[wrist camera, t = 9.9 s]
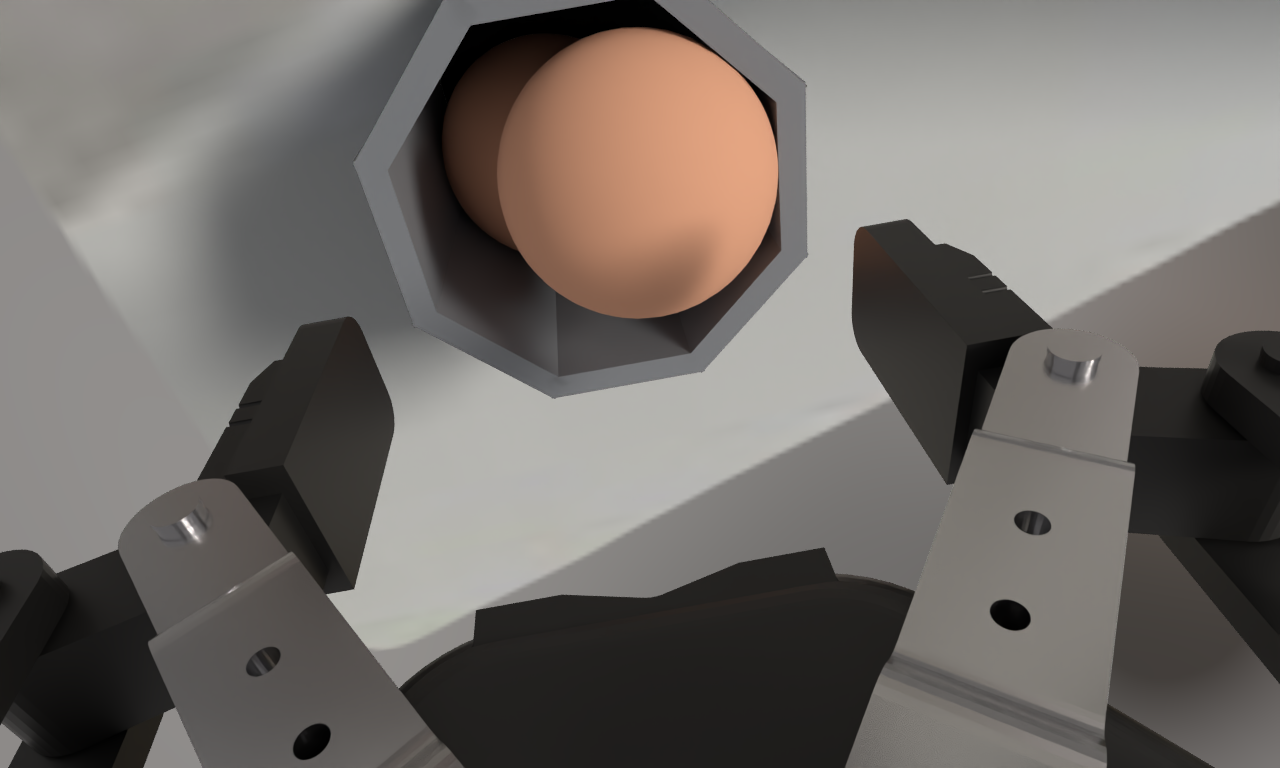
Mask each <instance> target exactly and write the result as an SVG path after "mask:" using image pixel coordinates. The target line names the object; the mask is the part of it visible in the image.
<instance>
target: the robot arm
mask: <svg viewBox="0 0 1280 768" xmlns="http://www.w3.org/2000/svg"><path fill="white" fill-rule="evenodd" d="M852 324H853V330H854V335H855V338H856V342H857V345H858V347H859V349H860V351H861V353H862V354H863V356H864V357H865V359H866V360H867V362H868V363H869V365H870V367H871V368H872V370H873V371H874V373H875V374H876V376H877V377H878V379H879V380H880V382H881V384H882V385H883V387H884V388H885V390H886V391H887V393H888V394H889V396H890V397H891V399H892V400H893V402H894V404H895V405H896V407H897V408H898V410H899V411H900V413H901V414H902V416H903V417H904V419H905V421H906V422H907V424H908V425H909V427H910V428H911V430H912V431H913V433H914V435H915V436H916V438H917V439H918V441H919V442H920V444H921V445H922V447H923V449H924V450H925V451H926V453H927V455H928V456H929V458H930V459H931V461H932V462H933V464H934V466H935V467H936V468H937V470H938V472H939V473H940V475H941V476H942V478H943V479H944V481H945V483H946V484H947V485H948V484H954V486H953V488H952V491H951V494H950V497H949V500H948V502H947V505H946V508H945V511H944V513H943V516H942V519H941V522H940V525H939V527H938V530H937V533H936V536H935V538H934V541H933V544H932V547H931V550H930V552H929V555H928V558H927V561H926V563H925V566H924V569H923V572H922V575H921V577H920V580H919V583H918V585H917V588H916V591H913V590H910V589H907V588H905V587H902V586H898V585H896V584H893V583H890V582H885V581H882V580H877V579H873V578H868V577H862V576H854V575H848V574H835V573H834V570H833V568H832V565H831V563H830V560H829V558H828V556H827V553H826V551H825V548H819V549H813V550H808V551H802V552H796V553H791V554H785V555H780V556H774V557H769V558H763V559H758V560H752V561H747V562H741V563H738V564H735V565H733V566H730V567H728V568H726V569H723V570H721V571H718V572H716V573H713V574H711V575H709V576H706V577H704V578H701V579H699V580H696V581H694V582H692V583H689V584H687V585H684V586H682V587H680V588H677V589H675V590H672V591H670V592H667V593H665V594H663V595H660V596H657V597H652V598H633V597H606V596H605V597H604V596H579V595H558V596H552V597H547V598H542V599H536V600H531V601H525V602H519V603H513V604H508V605H503V606H497V607H491V608H486V609H480V610H476V617H475V630H474V639H473V640H471V641H468V642H466V643H464V644H462V645H460V646H458V647H456V648H454V649H453V650H451V651H449V652H447V653H445V654H443V655H442V656H440V657H439V658H437V659H436V660H434V661H433V662H431V663H430V664H428V665H427V666H425V667H424V668H422V669H421V670H420V671H419V672H417V673H416V674H415V675H414V676H412V677H411V678H410V679H409V680H408V681H406V682H405V683H404V684H403V685H402V686H401V687H400V688H398V687H397V686H396V685H395V683H394V682H393V681H392V679H391V678H390V677H389V676H388V675H387V673H386V672H385V670H384V669H383V668H382V666H381V665H380V664H379V663H378V662H377V660H376V659H375V657H374V656H373V655H372V654H371V652H370V651H369V650H368V648H367V647H366V646H365V644H364V643H363V642H362V641H361V639H360V638H359V637H358V635H357V634H356V633H355V632H354V630H353V629H352V628H351V626H350V625H349V624H348V622H347V621H346V620H345V619H344V617H343V616H342V615H341V613H340V612H339V611H338V610H337V608H336V607H335V606H334V604H333V603H332V602H331V600H330V599H329V598H328V597H327V595H326V594H330V593H336V592H341V591H347V590H352V589H354V587H355V583H356V579H357V576H358V572H359V568H360V564H361V560H362V556H363V552H364V548H365V544H366V540H367V536H368V532H369V528H370V524H371V520H372V516H373V512H374V508H375V504H376V501H377V497H378V493H379V489H380V485H381V481H382V477H383V473H384V469H385V465H386V461H387V457H388V453H389V449H390V445H391V441H392V437H393V433H394V413H393V407H392V403H391V399H390V396H389V394H388V391H387V389H386V386H385V384H384V382H383V379H382V377H381V375H380V372H379V370H378V368H377V365H376V363H375V360H374V358H373V356H372V353H371V351H370V349H369V346H368V344H367V342H366V339H365V337H364V335H363V332H362V330H361V328H360V326H359V324H358V323H357V322H356V320H355V319H354V318H352V317H344V318H338V319H333V320H327V321H321V322H316V323H310V324H304V325H302V326H300V328H299V329H298V331H297V333H296V335H295V337H294V339H293V341H292V343H291V345H290V347H289V349H288V351H287V353H286V355H285V357H284V358H283V360H278V361H274V362H273V363H272V364H271V365H270V366H268V367H267V368H266V369H265V370H264V371H263V372H262V373H261V374H260V375H259V376H257V377H256V378H255V379H254V380H253V381H252V382H251V383H250V385H249V387H248V389H247V390H246V392H245V394H244V396H243V398H242V399H241V401H240V403H239V409H236V410H235V412H234V414H233V416H232V418H231V420H230V421H229V425H230V427H226V429H225V430H224V432H223V434H222V436H221V438H220V440H219V441H218V443H217V445H216V447H215V449H214V450H213V452H212V454H211V456H210V458H209V460H208V461H207V463H206V465H205V467H204V469H203V471H202V472H201V474H200V476H199V478H198V480H197V481H194V482H191V483H188V484H185V485H182V486H180V487H177V488H175V489H173V490H171V491H169V492H167V493H165V494H163V495H161V496H160V497H158V498H156V499H155V500H153V501H152V502H150V503H149V504H148V505H146V506H145V507H144V508H143V509H141V510H140V511H139V512H138V513H137V514H136V515H135V516H134V517H133V518H132V519H131V520H130V522H129V523H128V524H127V525H126V527H125V528H124V530H123V532H122V533H121V536H120V539H119V542H118V550H116V551H113V552H110V553H108V554H105V555H103V556H100V557H98V558H95V559H93V560H90V561H88V562H85V563H82V564H80V565H77V566H75V567H72V568H70V569H67V570H64V571H62V572H59V573H57V574H56V573H55V572H54V571H53V570H52V569H51V567H49V565H48V564H47V563H46V562H45V561H44V560H43V559H42V558H41V557H40V556H39V555H38V554H37V553H35V552H33V551H29V550H12V551H6V552H2V553H0V725H1V723H2V724H3V725H5V726H6V727H7V728H8V729H9V730H11V731H12V732H13V733H14V734H16V735H17V736H18V737H19V738H20V739H22V740H23V741H22V743H21V745H20V747H19V749H18V750H17V752H16V754H15V756H14V758H13V760H12V762H11V764H10V765H9V767H8V768H143V767H144V764H145V762H146V759H147V756H148V754H149V751H150V748H151V746H152V743H153V740H154V738H155V735H156V733H157V730H158V727H159V725H160V722H161V719H162V717H163V713H164V712H166V711H168V710H170V709H173V708H175V707H176V709H177V712H178V714H179V716H180V718H181V721H182V723H183V725H184V727H185V729H186V731H187V734H188V736H189V738H190V740H191V743H192V745H193V747H194V750H195V752H196V754H197V756H198V759H199V761H200V763H201V765H202V767H203V768H1214V767H1213V766H1211V765H1209V764H1208V763H1206V762H1204V761H1203V760H1201V759H1199V758H1198V757H1196V756H1194V755H1193V754H1191V753H1189V752H1188V751H1186V750H1184V749H1183V748H1181V747H1179V746H1178V745H1176V744H1174V743H1173V742H1171V741H1169V740H1167V739H1166V738H1164V737H1162V736H1161V735H1159V734H1157V733H1156V732H1154V731H1153V730H1150V729H1149V728H1148V727H1146V726H1144V725H1142V724H1141V723H1139V722H1137V721H1136V720H1134V719H1132V718H1131V717H1129V716H1127V715H1126V714H1124V713H1122V712H1121V711H1119V710H1117V709H1116V708H1114V707H1112V706H1111V705H1109V704H1107V701H1108V692H1109V685H1110V676H1111V668H1112V660H1113V651H1114V643H1115V635H1116V626H1117V618H1118V610H1119V602H1120V592H1121V585H1122V577H1123V567H1124V560H1125V551H1126V544H1127V535H1128V533H1141V534H1153V535H1159V536H1160V538H1161V539H1162V540H1163V541H1164V543H1165V544H1166V545H1167V546H1168V548H1169V549H1170V550H1171V551H1172V553H1173V554H1174V555H1175V556H1176V557H1177V559H1178V560H1179V561H1180V562H1181V563H1182V565H1183V566H1184V567H1185V568H1186V570H1187V571H1188V572H1189V573H1190V574H1191V576H1192V577H1193V578H1194V579H1195V581H1196V582H1197V583H1198V584H1199V586H1200V587H1201V588H1202V589H1203V591H1204V592H1205V593H1206V594H1207V595H1208V597H1209V598H1210V599H1211V600H1212V601H1213V603H1214V604H1215V605H1216V606H1217V608H1218V609H1219V610H1220V611H1221V613H1222V614H1223V615H1224V616H1225V617H1226V619H1227V620H1228V621H1229V622H1230V624H1231V625H1232V626H1233V627H1234V628H1235V630H1236V631H1237V632H1238V633H1239V635H1240V636H1241V637H1242V638H1243V639H1244V641H1245V642H1246V643H1247V644H1248V645H1249V647H1250V648H1251V649H1252V650H1253V652H1254V653H1255V654H1256V655H1257V657H1258V658H1259V659H1260V660H1261V662H1262V663H1263V664H1264V665H1265V666H1266V667H1267V669H1268V670H1269V671H1270V673H1271V674H1272V675H1273V676H1274V677H1275V678H1276V680H1277V681H1278V682H1279V683H1280V332H1278V331H1251V332H1243V333H1238V334H1234V335H1232V336H1229V337H1227V338H1225V339H1223V340H1222V341H1221V342H1220V343H1219V344H1218V345H1217V346H1216V348H1215V351H1214V353H1213V356H1212V359H1211V361H1210V364H1209V367H1208V369H1199V368H1155V367H1139V365H1138V362H1137V360H1136V358H1135V357H1134V355H1133V354H1132V353H1131V352H1130V351H1129V350H1128V349H1127V348H1125V347H1124V346H1122V345H1121V344H1119V343H1117V342H1115V341H1113V340H1111V339H1109V338H1106V337H1104V336H1101V335H1098V334H1094V333H1091V332H1086V331H1081V330H1073V329H1053V328H1052V327H1051V326H1050V325H1048V324H1047V323H1046V322H1045V321H1044V320H1043V319H1042V318H1041V317H1040V316H1039V315H1038V314H1037V313H1035V312H1034V311H1033V310H1032V309H1031V308H1030V307H1029V306H1028V305H1027V304H1026V303H1025V302H1024V301H1022V300H1021V299H1020V298H1019V297H1018V296H1017V295H1016V294H1015V293H1014V292H1013V291H1012V290H1011V289H1010V290H1007V286H1006V285H1005V284H1004V283H1003V282H1002V281H1001V280H1000V279H999V278H998V277H996V276H992V272H991V271H990V270H989V269H988V268H987V267H986V266H985V265H983V264H982V263H981V262H980V261H979V260H978V259H977V258H976V257H975V256H974V255H971V254H969V253H967V252H964V251H962V250H959V249H957V248H955V247H952V246H950V245H948V244H945V243H944V244H939V245H935V244H934V243H933V242H932V241H931V240H930V239H929V238H928V237H927V236H926V235H925V234H923V233H922V232H921V231H920V230H919V229H918V228H917V227H916V226H915V225H914V224H913V223H912V222H911V221H910V220H908V219H904V220H898V221H893V222H887V223H881V224H876V225H870V226H864V227H860V228H859V229H858V230H857V232H856V235H855V241H854V262H853V292H852Z"/></svg>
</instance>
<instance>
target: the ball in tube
mask: <svg viewBox="0 0 1280 768" xmlns="http://www.w3.org/2000/svg"><path fill="white" fill-rule="evenodd" d="M579 40H580V39H579V38H575V37H571V36H568V35H561V34H554V33H535V34H529V35H523V36H519V37H516V38H513V39H510V40H508V41H505V42H503V43H501V44H499V45H497V46H495V47H493V48H491V49H490V50H489V51H487V52H486V53H485V54H483V55H482V56H481V57H479V58H478V59H477V60H476V61H475V62H474V63H473V64H472V65H471V66H470V67H469V68H468V69H467V70H466V72H465V73H464V75H463V76H462V77H461V79H460V80H459V82H458V83H457V85H456V86H455V89H454V91H453V93H452V95H451V97H450V100H449V102H448V105H447V108H446V112H445V116H444V122H443V130H442V153H443V160H444V166H445V170H446V174H447V178H448V180H449V183H450V185H451V188H452V190H453V192H454V194H455V196H456V198H457V200H458V201H459V203H460V205H461V206H462V208H463V209H464V211H465V212H466V213H467V215H468V216H469V217H470V218H471V219H472V220H473V222H474V223H475V224H476V225H478V226H479V227H480V228H481V229H482V230H483V231H484V232H485V233H487V234H488V235H489V236H491V237H492V238H494V239H495V240H497V241H498V242H500V243H502V244H504V245H506V246H508V247H510V248H512V249H515V250H517V251H519V250H518V248H517V246H516V244H515V243H514V241H513V239H512V237H511V234H510V232H509V230H508V227H507V225H506V221H505V218H504V215H503V212H502V208H501V204H500V199H499V192H498V183H497V161H498V154H499V147H500V141H501V136H502V133H503V129H504V126H505V123H506V121H507V118H508V115H509V113H510V111H511V108H512V106H513V104H514V102H515V101H516V99H517V97H518V96H519V94H520V92H521V91H522V89H523V88H524V86H525V85H526V83H527V82H528V81H529V80H530V78H531V77H532V76H533V75H534V74H535V73H536V72H537V70H538V69H539V68H540V67H541V66H542V65H543V64H545V63H546V62H547V61H548V60H549V59H550V58H552V57H553V56H554V55H555V54H557V53H558V52H559V51H561V50H563V49H564V48H566V47H568V46H570V45H571V44H573V43H575V42H577V41H579Z"/></svg>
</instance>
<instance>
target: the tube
mask: <svg viewBox="0 0 1280 768" xmlns="http://www.w3.org/2000/svg"><path fill="white" fill-rule="evenodd" d="M607 1H613V0H443V1H442V3H441V5H440V7H439V9H438V10H437V12H436V14H435V16H434V18H433V20H432V21H431V23H430V25H429V27H428V29H427V31H426V32H425V34H424V36H423V38H422V40H421V42H420V43H419V45H418V47H417V49H416V51H415V53H414V54H413V56H412V58H411V60H410V62H409V64H408V65H407V67H406V69H405V71H404V73H403V75H402V76H401V78H400V80H399V82H398V84H397V86H396V87H395V89H394V91H393V93H392V95H391V97H390V98H389V100H388V102H387V104H386V106H385V108H384V109H383V111H382V113H381V115H380V117H379V119H378V120H377V122H376V124H375V126H374V128H373V130H372V131H371V133H370V135H369V137H368V139H367V141H366V142H365V144H364V145H363V147H362V149H361V150H360V152H359V153H358V155H357V156H356V158H355V160H354V161H353V163H354V165H353V166H354V167H355V169H356V171H357V174H358V177H359V179H360V182H361V185H362V188H363V190H364V193H365V196H366V198H367V201H368V204H369V206H370V209H371V212H372V214H373V217H374V220H375V223H376V225H377V228H378V231H379V233H380V236H381V239H382V241H383V244H384V247H385V250H386V252H387V255H388V258H389V260H390V263H391V266H392V268H393V271H394V274H395V277H396V279H397V282H398V285H399V287H400V290H401V293H402V295H403V298H404V301H405V304H406V306H407V309H408V312H409V314H410V317H411V320H412V322H413V323H412V325H413V326H414V327H417V328H419V329H421V330H423V331H425V332H427V333H429V334H430V335H432V336H434V337H436V338H438V339H440V340H442V341H444V342H446V343H448V344H450V345H452V346H454V347H456V348H458V349H459V350H461V351H463V352H465V353H467V354H469V355H471V356H473V357H475V358H477V359H479V360H481V361H483V362H485V363H487V364H488V365H490V366H492V367H494V368H496V369H498V370H500V371H502V372H504V373H506V374H508V375H510V376H512V377H514V378H515V379H517V380H519V381H521V382H523V383H525V384H527V385H529V386H531V387H533V388H535V389H537V390H539V391H541V392H543V393H544V394H546V395H548V396H550V397H552V398H554V399H555V398H557V397H563V396H569V395H574V394H580V393H585V392H591V391H596V390H602V389H608V388H613V387H619V386H624V385H630V384H636V383H641V382H647V381H652V380H658V379H663V378H669V377H675V376H680V375H686V374H691V373H697V372H703V371H705V369H706V368H707V366H708V365H709V364H710V363H711V362H712V361H713V360H714V359H715V358H716V356H717V355H718V354H719V353H720V352H721V351H722V350H723V349H724V348H725V346H726V345H727V344H728V343H729V342H730V341H731V340H732V339H733V338H734V336H735V335H736V334H737V333H738V332H739V331H740V330H741V329H742V328H743V326H744V325H745V324H746V323H747V322H748V321H749V320H750V319H751V318H752V317H753V315H754V314H755V313H756V312H757V311H758V310H759V309H760V308H761V307H762V305H763V304H764V303H765V302H766V301H767V300H768V299H769V298H770V297H771V295H772V294H773V293H774V292H775V291H776V290H777V289H778V288H779V287H780V285H781V284H782V283H783V282H784V281H785V280H786V279H787V278H788V277H789V275H790V274H791V273H792V272H793V271H794V270H795V269H796V268H797V267H798V265H799V264H800V263H801V262H802V261H803V260H804V259H805V258H807V256H808V253H807V184H806V92H805V88H806V86H807V85H806V84H805V81H803V80H802V79H801V78H800V77H798V76H797V75H796V74H795V73H794V72H792V71H791V70H790V69H789V68H787V67H786V66H785V65H784V64H783V63H781V62H780V61H779V60H778V59H776V58H775V57H774V56H773V55H771V54H770V53H769V52H768V51H767V50H765V49H764V48H763V47H762V46H761V45H759V44H758V43H757V42H756V41H755V40H754V39H753V38H751V37H750V36H749V35H748V34H747V33H746V32H745V31H743V30H742V29H741V28H740V27H739V26H738V25H736V24H735V23H734V22H733V21H732V20H731V19H730V18H728V17H727V16H726V15H725V14H724V13H723V12H722V11H720V10H719V9H718V8H717V7H716V6H715V5H713V4H712V3H711V2H710V1H709V0H655V1H656V2H657V3H658V4H660V5H661V6H662V7H663V8H664V9H666V10H667V11H668V12H669V13H670V14H672V15H673V16H674V17H675V18H676V19H678V20H679V21H680V22H681V23H682V24H684V25H685V26H686V27H687V28H688V29H690V30H691V31H692V32H693V33H694V34H695V35H697V36H698V37H699V38H700V39H701V43H702V44H704V45H706V46H708V47H709V48H711V49H713V50H714V51H716V52H717V53H718V54H719V55H721V56H722V57H723V58H724V59H725V60H727V61H728V62H729V63H730V64H731V65H733V66H734V67H735V68H736V69H737V70H738V72H739V73H740V74H741V75H742V76H743V77H744V78H745V79H746V80H747V82H748V83H749V84H750V86H751V87H752V89H753V90H754V92H755V94H756V95H757V97H758V99H759V100H760V102H761V104H762V106H763V108H764V110H765V112H766V114H767V117H768V119H769V122H770V125H771V128H772V132H773V135H774V140H775V144H776V150H777V158H778V185H777V196H776V201H775V205H774V209H773V213H772V217H771V220H770V224H769V226H768V228H767V231H766V233H765V235H764V237H763V239H762V242H761V244H760V245H759V247H758V249H757V250H756V252H755V253H754V255H753V256H752V258H751V259H750V261H749V263H748V264H747V265H746V266H745V267H744V268H743V270H742V271H741V272H740V273H739V274H738V275H737V276H736V277H735V278H734V279H733V280H732V281H731V282H730V283H729V284H728V285H727V286H725V287H724V288H723V289H722V290H721V291H719V292H718V293H716V294H715V295H713V296H712V297H710V298H708V299H707V300H705V301H703V302H702V303H700V304H698V305H696V306H693V307H691V308H689V309H686V310H684V311H681V312H678V313H674V314H670V315H666V316H662V317H652V318H640V319H635V318H621V317H615V316H610V315H605V314H601V313H598V312H595V311H592V310H589V309H587V308H585V307H582V306H580V305H577V304H575V303H574V302H572V301H570V300H568V299H567V298H565V297H564V296H562V295H561V294H559V293H558V292H556V291H555V290H554V289H552V288H551V287H550V286H548V285H547V284H546V283H545V282H544V281H543V280H542V279H541V278H540V277H539V276H538V275H537V274H536V273H535V272H534V271H533V269H532V268H531V267H530V266H529V265H528V263H527V262H526V261H525V259H524V258H523V256H522V255H521V253H520V252H519V251H517V250H515V249H512V248H510V247H508V246H506V245H504V244H502V243H500V242H498V241H497V240H495V239H494V238H492V237H491V236H489V235H488V234H487V233H485V232H484V231H483V230H482V229H481V228H480V227H479V226H478V225H476V224H475V223H474V222H473V220H472V219H471V218H470V217H469V216H468V215H467V213H466V212H465V211H464V209H463V208H462V206H461V205H460V203H459V201H458V200H457V198H456V196H455V194H454V192H453V190H452V188H451V185H450V183H449V180H448V178H447V174H446V170H445V166H444V160H443V153H442V130H443V122H444V116H445V112H446V108H447V101H446V98H445V94H444V91H443V87H442V84H441V80H440V78H441V76H442V74H443V73H444V71H445V69H446V67H447V66H448V64H449V62H450V60H451V59H452V57H453V55H454V53H455V52H456V50H457V48H458V46H459V45H460V43H461V41H462V39H463V38H464V36H465V34H466V32H467V31H468V29H469V27H470V25H476V24H481V23H487V22H493V21H498V20H504V19H510V18H516V17H521V16H527V15H533V14H538V13H544V12H550V11H556V10H561V9H567V8H573V7H578V6H584V5H590V4H596V3H601V2H607Z"/></svg>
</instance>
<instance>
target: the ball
mask: <svg viewBox="0 0 1280 768" xmlns="http://www.w3.org/2000/svg"><path fill="white" fill-rule="evenodd" d="M497 183H498V192H499V199H500V204H501V208H502V212H503V215H504V218H505V221H506V225H507V227H508V230H509V232H510V234H511V237H512V239H513V241H514V243H515V244H516V246H517V248H518V250H519V252H520V253H521V255H522V256H523V258H524V259H525V261H526V262H527V263H528V265H529V266H530V267H531V268H532V269H533V271H534V272H535V273H536V274H537V275H538V276H539V277H540V278H541V279H542V280H543V281H544V282H545V283H546V284H547V285H548V286H550V287H551V288H552V289H554V290H555V291H556V292H558V293H559V294H561V295H562V296H564V297H565V298H567V299H568V300H570V301H572V302H574V303H575V304H577V305H580V306H582V307H585V308H587V309H589V310H592V311H595V312H598V313H601V314H605V315H610V316H615V317H621V318H635V319H640V318H652V317H662V316H666V315H670V314H674V313H678V312H681V311H684V310H686V309H689V308H691V307H693V306H696V305H698V304H700V303H702V302H703V301H705V300H707V299H708V298H710V297H712V296H713V295H715V294H716V293H718V292H719V291H721V290H722V289H723V288H724V287H725V286H727V285H728V284H729V283H730V282H731V281H732V280H733V279H734V278H735V277H736V276H737V275H738V274H739V273H740V272H741V271H742V270H743V268H744V267H745V266H746V265H747V264H748V263H749V261H750V259H751V258H752V256H753V255H754V253H755V252H756V250H757V249H758V247H759V245H760V244H761V242H762V239H763V237H764V235H765V233H766V231H767V228H768V226H769V224H770V220H771V217H772V213H773V209H774V205H775V201H776V196H777V185H778V158H777V150H776V144H775V140H774V135H773V132H772V128H771V125H770V122H769V119H768V117H767V114H766V112H765V110H764V108H763V106H762V104H761V102H760V100H759V99H758V97H757V95H756V94H755V92H754V90H753V89H752V87H751V86H750V84H749V83H748V82H747V80H746V79H745V78H744V77H743V76H742V75H741V74H740V73H739V72H738V70H737V69H736V68H735V67H734V66H733V65H731V64H730V63H729V62H728V61H727V60H725V59H724V58H723V57H722V56H721V55H719V54H718V53H717V52H716V51H714V50H713V49H711V48H709V47H708V46H706V45H704V44H702V43H700V42H698V41H696V40H695V39H693V38H690V37H687V36H684V35H681V34H679V33H676V32H672V31H669V30H664V29H657V28H651V27H623V28H618V29H612V30H607V31H603V32H599V33H596V34H593V35H590V36H588V37H585V38H582V39H580V40H579V41H577V42H575V43H573V44H571V45H570V46H568V47H566V48H564V49H563V50H561V51H559V52H558V53H557V54H555V55H554V56H553V57H552V58H550V59H549V60H548V61H547V62H546V63H545V64H543V65H542V66H541V67H540V68H539V69H538V70H537V72H536V73H535V74H534V75H533V76H532V77H531V78H530V80H529V81H528V82H527V83H526V85H525V86H524V88H523V89H522V91H521V92H520V94H519V96H518V97H517V99H516V101H515V102H514V104H513V106H512V108H511V111H510V113H509V115H508V118H507V121H506V123H505V126H504V129H503V133H502V136H501V141H500V147H499V154H498V161H497Z"/></svg>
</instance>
